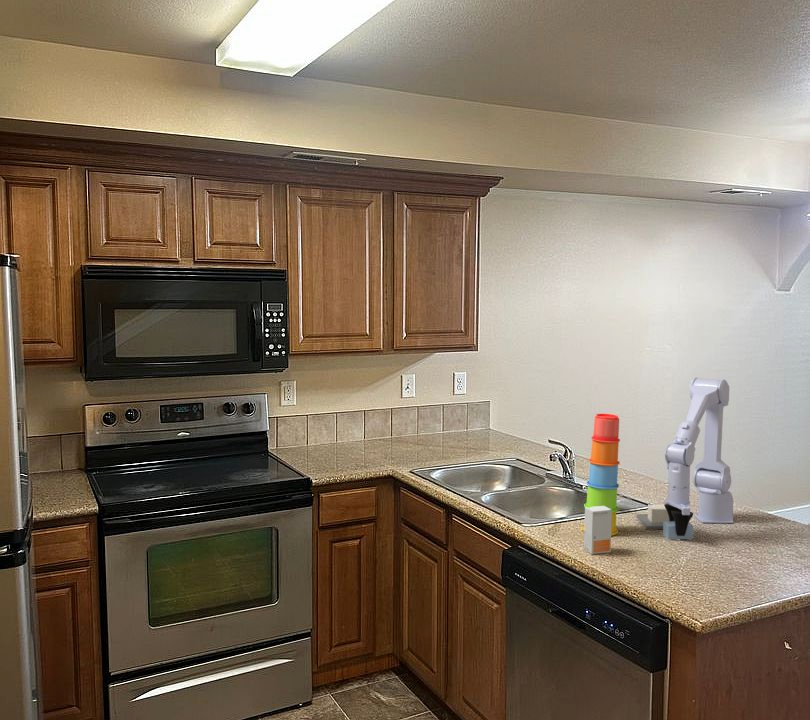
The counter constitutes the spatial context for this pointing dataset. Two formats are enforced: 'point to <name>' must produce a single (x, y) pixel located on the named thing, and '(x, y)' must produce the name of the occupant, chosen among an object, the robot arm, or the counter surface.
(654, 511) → the cream brick
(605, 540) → the skincare box
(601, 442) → the stacking cups
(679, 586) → the counter surface
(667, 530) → the blue brick
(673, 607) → the counter surface
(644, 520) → the baseplate
